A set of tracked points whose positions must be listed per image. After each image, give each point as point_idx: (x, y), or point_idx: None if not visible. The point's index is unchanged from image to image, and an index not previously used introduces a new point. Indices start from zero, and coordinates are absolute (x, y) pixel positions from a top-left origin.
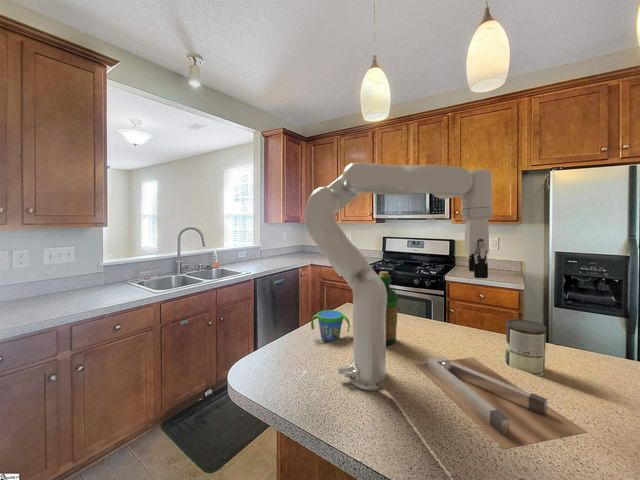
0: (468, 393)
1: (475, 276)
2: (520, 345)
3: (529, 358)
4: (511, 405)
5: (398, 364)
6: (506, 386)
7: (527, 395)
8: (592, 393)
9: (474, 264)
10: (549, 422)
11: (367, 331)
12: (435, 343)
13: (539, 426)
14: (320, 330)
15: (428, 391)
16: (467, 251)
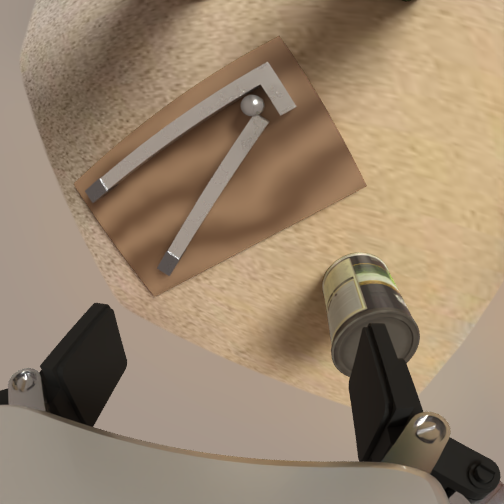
0: (138, 147)
1: (94, 310)
2: (337, 304)
3: (326, 302)
4: (175, 217)
5: (291, 2)
6: (188, 223)
7: (170, 250)
8: (285, 348)
9: (46, 362)
10: (153, 259)
11: None
12: (448, 111)
13: (137, 242)
14: None
15: (189, 71)
16: (54, 449)
